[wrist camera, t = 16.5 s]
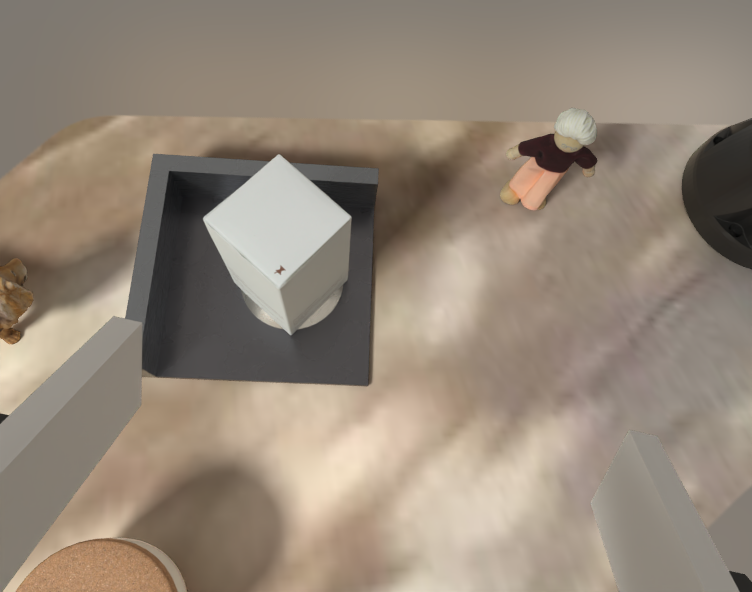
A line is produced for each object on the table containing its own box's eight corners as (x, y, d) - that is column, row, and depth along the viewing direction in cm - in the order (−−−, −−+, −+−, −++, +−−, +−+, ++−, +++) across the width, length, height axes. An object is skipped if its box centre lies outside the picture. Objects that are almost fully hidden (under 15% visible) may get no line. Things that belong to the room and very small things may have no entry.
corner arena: (374, 195, 54) (378, 168, 49) (367, 386, 48) (371, 376, 43) (169, 182, 52) (153, 153, 48) (138, 376, 47) (117, 365, 42)
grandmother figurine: (490, 212, 54) (536, 136, 42) (489, 176, 55) (533, 92, 43) (569, 216, 55) (637, 143, 42) (566, 180, 56) (631, 99, 44)
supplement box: (350, 279, 50) (356, 218, 38) (290, 338, 48) (277, 293, 36) (291, 225, 51) (279, 149, 39) (230, 280, 49) (198, 218, 37)
